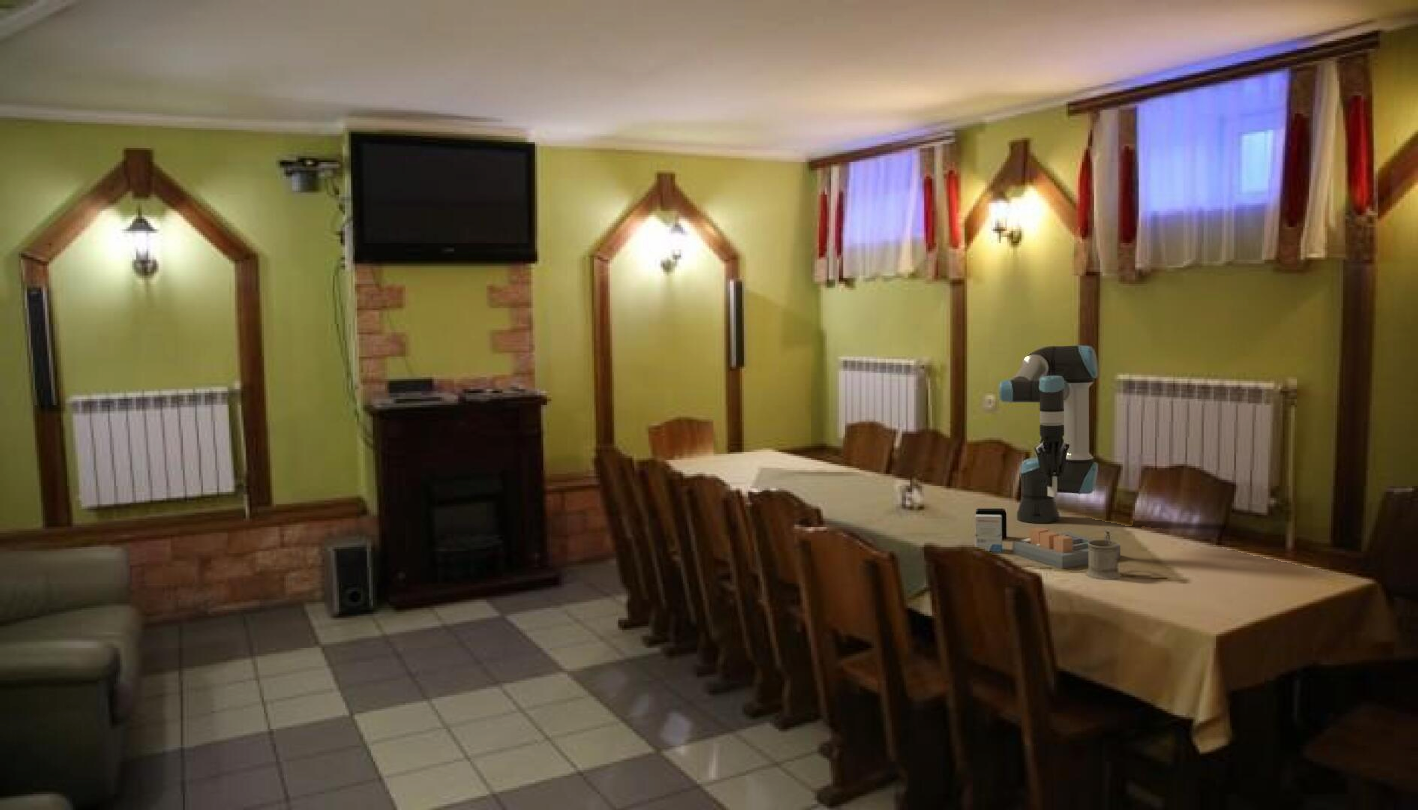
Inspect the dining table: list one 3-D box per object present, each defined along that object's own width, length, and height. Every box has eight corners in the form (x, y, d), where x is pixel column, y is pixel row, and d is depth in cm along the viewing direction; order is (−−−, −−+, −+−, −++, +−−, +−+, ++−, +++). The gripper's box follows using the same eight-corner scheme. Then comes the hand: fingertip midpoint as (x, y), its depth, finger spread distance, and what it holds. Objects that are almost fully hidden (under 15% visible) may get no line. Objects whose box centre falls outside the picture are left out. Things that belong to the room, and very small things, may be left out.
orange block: (1063, 553, 312) (1063, 535, 311) (1073, 556, 308) (1072, 537, 308) (1053, 555, 310) (1053, 536, 310) (1063, 558, 307) (1063, 539, 306)
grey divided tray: (1068, 543, 333) (1068, 531, 332) (1120, 557, 313) (1120, 544, 312) (1012, 553, 323) (1012, 540, 322) (1062, 568, 303) (1062, 555, 302)
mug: (1117, 581, 288) (1117, 540, 287) (1082, 577, 293) (1082, 537, 292) (1126, 568, 300) (1126, 530, 299) (1092, 565, 305) (1092, 527, 304)
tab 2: (1049, 549, 317) (1049, 531, 317) (1058, 552, 314) (1058, 533, 313) (1040, 551, 316) (1039, 533, 315) (1049, 554, 312) (1049, 535, 311)
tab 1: (1039, 545, 323) (1039, 527, 323) (1048, 547, 320) (1048, 529, 319) (1030, 547, 322) (1030, 528, 321) (1039, 549, 318) (1039, 531, 318)
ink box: (1002, 548, 330) (1002, 513, 329) (1001, 552, 325) (1001, 517, 324) (976, 547, 333) (975, 513, 331) (975, 551, 328) (974, 516, 327)
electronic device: (1006, 539, 342) (1006, 510, 341) (976, 539, 344) (976, 510, 343) (1005, 536, 347) (1005, 508, 346) (976, 536, 349) (975, 508, 348)
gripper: (1058, 421, 324) (1059, 492, 327) (1027, 424, 319) (1028, 496, 321) (1075, 423, 318) (1076, 495, 320) (1044, 426, 312) (1045, 500, 315)
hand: (1052, 496), depth 321 cm, fingers closed
